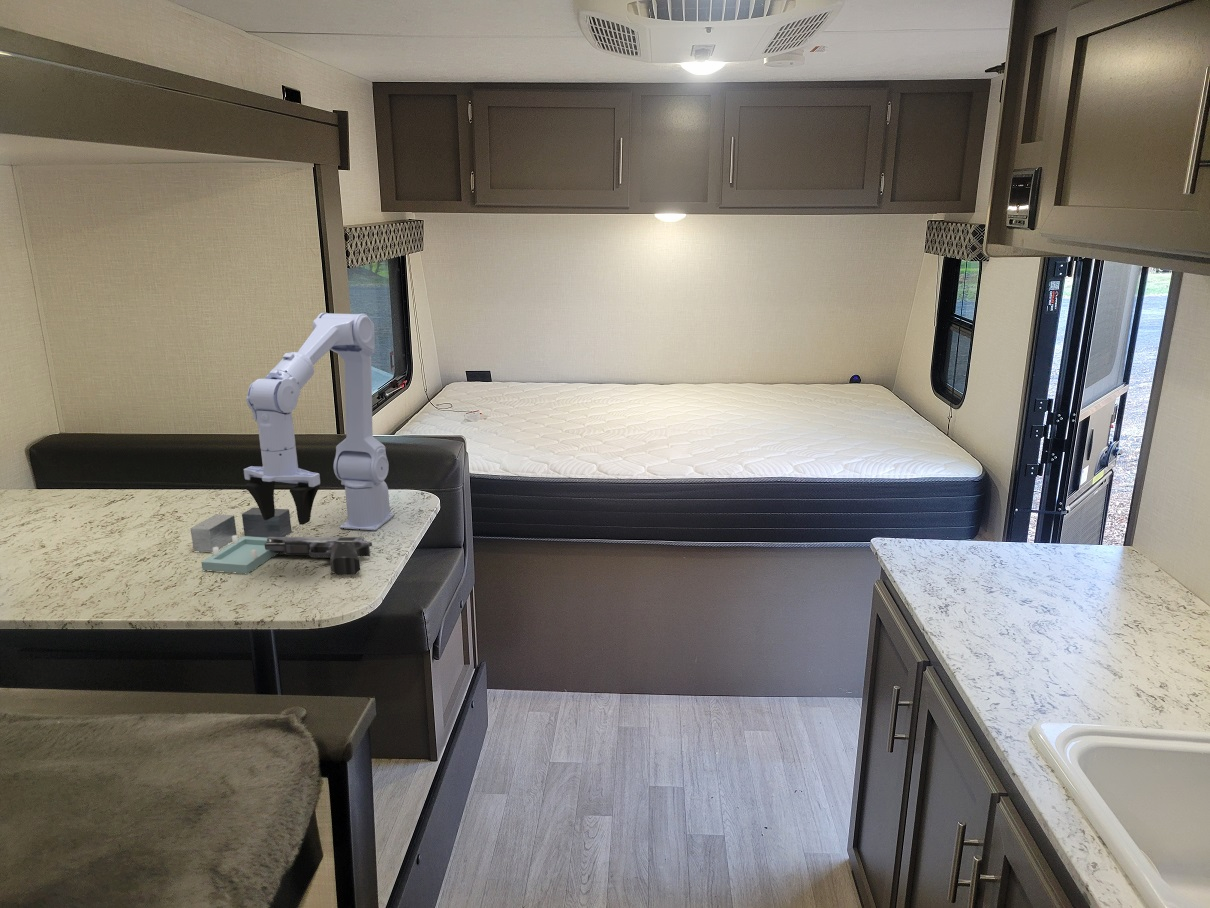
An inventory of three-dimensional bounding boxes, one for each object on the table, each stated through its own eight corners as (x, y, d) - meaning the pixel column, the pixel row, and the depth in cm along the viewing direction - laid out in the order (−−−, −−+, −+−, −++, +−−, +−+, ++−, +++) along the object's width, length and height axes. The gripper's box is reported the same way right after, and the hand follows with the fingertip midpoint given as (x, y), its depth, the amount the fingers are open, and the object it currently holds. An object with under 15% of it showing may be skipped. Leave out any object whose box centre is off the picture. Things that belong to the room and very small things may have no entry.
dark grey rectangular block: (244, 537, 170) (241, 513, 168) (256, 530, 173) (253, 507, 172) (281, 539, 168) (278, 516, 167) (291, 532, 172) (289, 509, 171)
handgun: (358, 558, 149) (377, 534, 160) (242, 557, 149) (270, 534, 161) (359, 575, 150) (378, 550, 161) (244, 574, 150) (271, 550, 162)
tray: (244, 544, 165) (242, 529, 164) (286, 547, 164) (284, 532, 163) (202, 571, 153) (200, 554, 152) (247, 574, 151) (245, 557, 151)
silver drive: (219, 537, 170) (215, 514, 168) (237, 538, 169) (234, 515, 167) (193, 552, 162) (190, 528, 161) (212, 553, 161) (209, 529, 160)
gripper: (227, 449, 145) (237, 523, 148) (298, 456, 140) (306, 532, 144) (256, 439, 151) (265, 510, 155) (324, 445, 147) (331, 519, 150)
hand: (286, 520), depth 150 cm, fingers open, 7 cm apart
